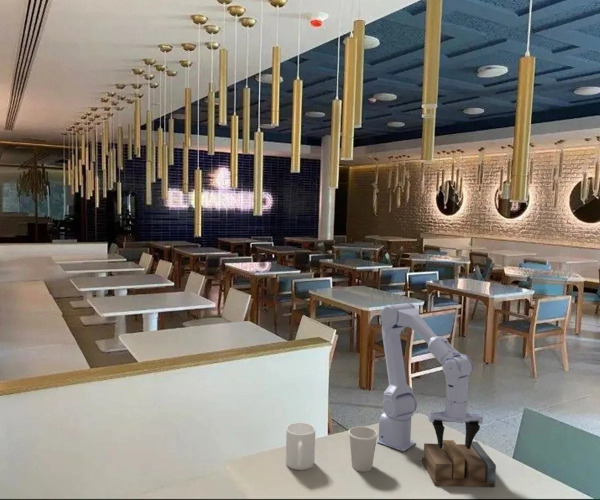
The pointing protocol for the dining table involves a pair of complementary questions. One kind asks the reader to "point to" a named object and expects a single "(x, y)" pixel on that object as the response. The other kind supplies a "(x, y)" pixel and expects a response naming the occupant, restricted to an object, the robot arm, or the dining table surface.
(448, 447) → the tall tan pillar
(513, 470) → the dining table surface
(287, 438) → the mug
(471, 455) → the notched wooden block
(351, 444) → the dixie cup
